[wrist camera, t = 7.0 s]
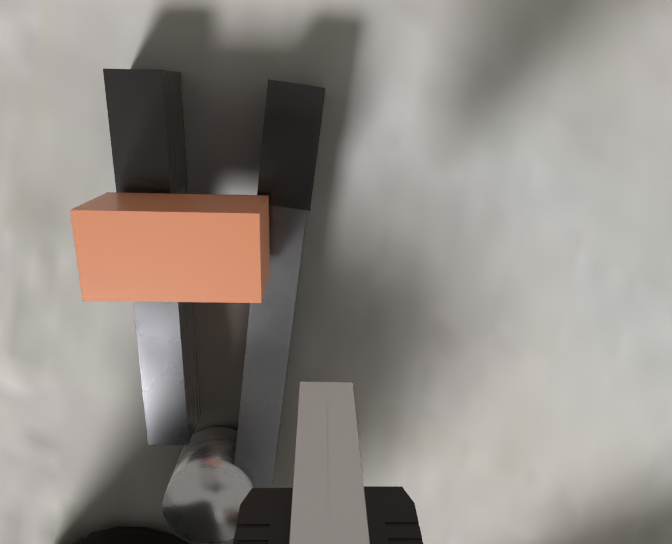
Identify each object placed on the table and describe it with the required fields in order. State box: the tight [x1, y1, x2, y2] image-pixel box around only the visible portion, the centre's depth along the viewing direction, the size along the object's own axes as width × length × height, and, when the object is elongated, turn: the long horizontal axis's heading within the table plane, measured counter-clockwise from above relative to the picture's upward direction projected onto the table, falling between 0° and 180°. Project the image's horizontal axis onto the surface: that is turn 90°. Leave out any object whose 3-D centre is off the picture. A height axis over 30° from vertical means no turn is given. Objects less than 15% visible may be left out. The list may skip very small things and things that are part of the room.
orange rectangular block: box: [70, 192, 270, 303], centre depth 18 cm, size 3×6×3 cm, turn 88°
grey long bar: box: [162, 80, 325, 544], centre depth 23 cm, size 20×5×3 cm, turn 172°
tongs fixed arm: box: [103, 69, 201, 445], centre depth 22 cm, size 16×2×3 cm, turn 179°
